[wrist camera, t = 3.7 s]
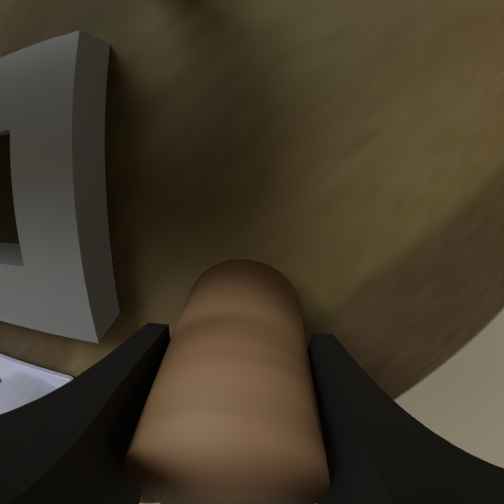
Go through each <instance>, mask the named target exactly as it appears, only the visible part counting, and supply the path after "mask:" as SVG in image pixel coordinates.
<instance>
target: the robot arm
mask: <svg viewBox="0 0 504 504" xmlns="http://www.w3.org/2000/svg"><path fill="white" fill-rule="evenodd" d="M169 342H170V333H169V325H165V324H156V323H148V324H147V325H145V326H144V327H142V328H141V329H140V330H139V331H137V332H136V333H135V334H134V335H132V336H131V337H130V338H129V339H127V340H126V341H125V342H124V343H122V344H121V345H120V346H119V347H117V348H116V349H115V350H113V351H112V352H111V353H110V354H108V355H107V356H106V357H104V358H103V359H102V360H100V361H99V362H97V363H96V364H95V365H93V366H92V367H90V368H89V369H87V370H86V371H84V372H83V373H82V374H80V375H79V376H77V377H76V378H73V377H72V376H69V375H66V374H62V373H59V372H55V371H51V370H48V369H45V368H41V367H38V366H35V365H32V364H29V363H26V362H23V361H20V360H17V359H14V358H11V357H8V356H5V355H2V354H0V378H1V380H2V381H1V383H0V504H139V501H140V496H141V491H140V490H139V489H138V488H137V487H136V486H135V485H134V484H133V483H132V482H131V481H130V479H129V478H128V476H127V474H126V472H125V470H124V459H125V456H126V454H127V451H128V448H129V445H130V442H131V440H132V437H133V434H134V432H135V429H136V426H137V423H138V421H139V418H140V416H141V413H142V410H143V408H144V405H145V402H146V400H147V397H148V395H149V392H150V389H151V387H152V384H153V382H154V379H155V377H156V374H157V372H158V369H159V367H160V364H161V362H162V359H163V357H164V354H165V352H166V349H167V347H168V344H169ZM308 353H309V358H310V364H311V369H312V375H313V380H314V386H315V392H316V397H317V403H318V409H319V415H320V421H321V427H322V433H323V439H324V446H325V452H326V458H327V465H328V472H329V479H330V485H329V488H328V491H327V492H326V494H325V495H324V496H323V497H322V498H321V499H320V500H319V501H318V502H317V503H316V504H504V468H501V467H498V466H495V465H493V464H490V463H488V462H486V461H484V460H482V459H480V458H477V457H475V456H473V455H471V454H469V453H467V452H465V451H464V450H462V449H460V448H458V447H456V446H454V445H453V444H451V443H450V442H448V441H446V440H445V439H443V438H442V437H440V436H439V435H437V434H435V433H434V432H432V431H431V430H430V429H428V428H427V427H425V426H424V425H423V424H421V423H420V422H419V421H418V420H416V419H415V418H414V417H412V416H411V415H410V414H409V413H407V412H406V411H405V410H404V409H403V408H401V407H400V406H399V405H398V404H397V403H396V402H395V401H394V400H393V399H391V398H390V397H389V396H388V395H387V394H386V393H385V392H384V391H383V390H382V389H381V388H380V387H379V386H378V385H377V384H376V383H375V382H374V381H373V380H372V379H371V378H370V377H369V376H368V375H367V374H366V372H365V371H364V370H363V369H362V368H361V367H360V366H359V365H358V364H357V362H356V361H355V360H354V359H353V358H352V357H351V355H350V354H349V353H348V352H347V351H346V350H345V348H344V347H343V346H342V345H341V344H340V343H339V341H338V340H337V339H336V338H335V337H334V336H333V334H311V338H310V344H309V349H308Z"/></svg>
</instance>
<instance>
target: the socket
mask: <svg viewBox="0 0 504 504" xmlns="http://www.w3.org/2000/svg"><path fill="white" fill-rule="evenodd" d="M109 51H110V45H109V44H107V43H105V42H103V41H101V40H99V39H97V38H95V37H93V36H91V35H89V34H86V33H84V32H82V31H80V30H79V31H75V32H72V33H68V34H65V35H62V36H58V37H55V38H52V39H49V40H46V41H43V42H40V43H37V44H34V45H32V46H29V47H26V48H24V49H21V50H18V51H16V52H13V53H11V54H9V55H6V56H4V57H2V58H0V136H2V135H7V134H10V163H11V179H12V191H13V201H14V209H15V217H16V224H17V231H18V237H19V243H20V244H17V243H2V242H0V321H4V322H7V323H11V324H15V325H18V326H22V327H26V328H30V329H34V330H38V331H42V332H46V333H51V334H55V335H60V336H64V337H69V338H74V339H79V340H84V341H89V342H94V343H99V342H100V340H101V339H102V338H103V336H104V335H105V333H106V332H107V330H108V329H109V327H110V326H111V325H112V323H113V322H114V320H115V319H116V318H117V316H118V315H119V313H120V311H119V305H118V299H117V292H116V286H115V279H114V271H113V264H112V255H111V246H110V237H109V226H108V213H107V198H106V177H105V108H106V87H107V73H108V61H109Z"/></svg>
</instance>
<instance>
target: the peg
mask: <svg viewBox="0 0 504 504" xmlns="http://www.w3.org/2000/svg"><path fill="white" fill-rule="evenodd" d="M124 470H125V472H126V474H127V476H128V478H129V479H130V481H131V482H132V483H133V484H134V485H135V486H136V487H137V488H138V489H139V490H140V491H141V492H143V493H144V494H146V495H147V496H148V497H150V498H152V499H153V500H155V501H157V502H159V503H161V504H315V503H317V502H318V501H319V500H320V499H321V498H322V497H323V496H324V495H325V494H326V492H327V491H328V488H329V485H330V479H329V472H328V465H327V458H326V452H325V446H324V439H323V433H322V427H321V421H320V415H319V409H318V403H317V397H316V392H315V386H314V380H313V375H312V369H311V364H310V358H309V353H308V348H307V342H306V337H305V332H304V327H303V322H302V316H301V311H300V306H299V301H298V297H297V294H296V292H295V289H294V288H293V286H292V284H291V283H290V282H289V280H288V279H287V278H286V277H285V276H284V275H283V274H282V273H280V272H279V271H278V270H276V269H275V268H273V267H271V266H269V265H267V264H264V263H261V262H257V261H253V260H231V261H226V262H222V263H220V264H217V265H215V266H213V267H211V268H210V269H208V270H207V271H206V272H204V273H203V274H202V275H201V276H200V277H199V278H198V279H197V281H196V282H195V284H194V285H193V287H192V289H191V292H190V294H189V296H188V299H187V301H186V303H185V306H184V308H183V310H182V313H181V315H180V318H179V320H178V322H177V325H176V327H175V330H174V332H173V334H172V337H171V339H170V342H169V344H168V347H167V349H166V352H165V354H164V357H163V359H162V362H161V364H160V367H159V369H158V372H157V374H156V377H155V379H154V382H153V384H152V387H151V389H150V392H149V395H148V397H147V400H146V402H145V405H144V408H143V410H142V413H141V416H140V418H139V421H138V423H137V426H136V429H135V432H134V434H133V437H132V440H131V442H130V445H129V448H128V451H127V454H126V456H125V459H124Z"/></svg>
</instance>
